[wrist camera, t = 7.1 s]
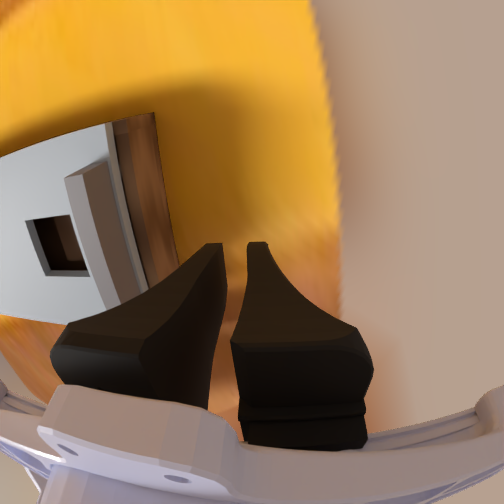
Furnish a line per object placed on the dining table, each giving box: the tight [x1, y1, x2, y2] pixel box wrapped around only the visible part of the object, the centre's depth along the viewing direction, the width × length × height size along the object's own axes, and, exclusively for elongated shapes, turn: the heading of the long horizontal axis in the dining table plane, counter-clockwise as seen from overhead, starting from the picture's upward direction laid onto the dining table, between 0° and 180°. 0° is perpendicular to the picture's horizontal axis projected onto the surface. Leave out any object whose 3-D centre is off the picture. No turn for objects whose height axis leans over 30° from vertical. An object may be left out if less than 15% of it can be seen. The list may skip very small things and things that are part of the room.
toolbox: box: [0, 112, 180, 289], centre depth 20 cm, size 14×22×4 cm, turn 93°
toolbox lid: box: [0, 122, 148, 325], centre depth 16 cm, size 14×22×3 cm, turn 94°
